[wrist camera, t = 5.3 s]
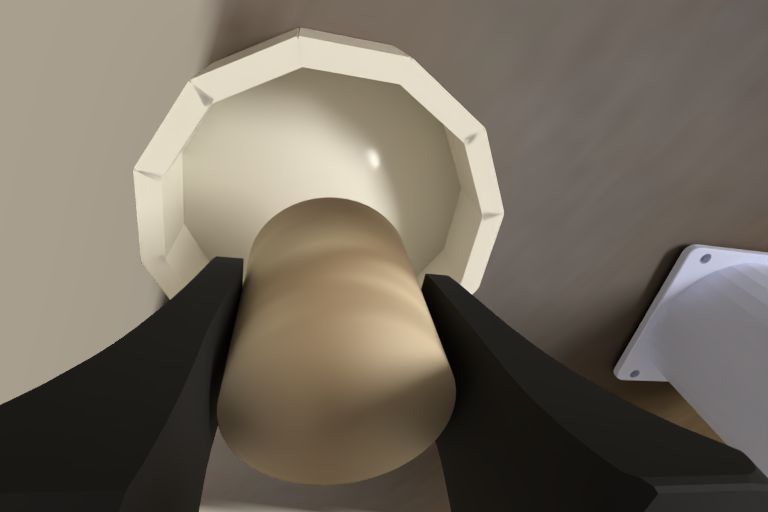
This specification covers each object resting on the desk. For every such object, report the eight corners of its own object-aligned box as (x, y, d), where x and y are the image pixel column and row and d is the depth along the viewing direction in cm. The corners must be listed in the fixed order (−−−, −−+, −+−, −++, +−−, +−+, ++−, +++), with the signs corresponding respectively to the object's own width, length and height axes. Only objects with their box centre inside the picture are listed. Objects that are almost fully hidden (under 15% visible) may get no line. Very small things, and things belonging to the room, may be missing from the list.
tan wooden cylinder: (419, 204, 12) (481, 322, 8) (393, 332, 14) (430, 480, 10) (247, 190, 11) (212, 314, 7) (248, 329, 13) (220, 490, 9)
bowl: (508, 68, 15) (548, 84, 13) (431, 324, 20) (449, 372, 18) (156, -2, 13) (118, 0, 10) (171, 309, 18) (149, 361, 15)
